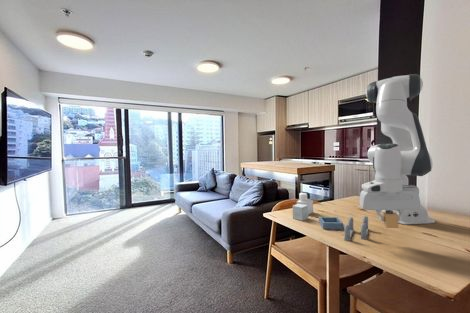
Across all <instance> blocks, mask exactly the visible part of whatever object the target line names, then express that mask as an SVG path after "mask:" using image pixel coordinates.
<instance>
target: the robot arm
mask: <svg viewBox="0 0 470 313" xmlns="http://www.w3.org/2000/svg"><path fill="white" fill-rule="evenodd" d="M423 86H424V82H423V79H422V77H421V76H420V75H419V73H418V74H417V73H413V74H412V73H409V74H407V75H397V76H392V77H389V78H388V77H387V78H384V79H381V80H377V81H376V80H375V81H372V82H369V84H368V85H367V87H366V90H365V96H366V99H367V101H368V102H369V103H373V104H376V105H375V113H376V118H377V119H378V121H379V122H380V132H381V133H382V134H383V135H384V136H386V137H389V138H390V139H391V141H392V142H389V143H380V144H375V145H371V146H370V147H369V148H368V150H367V159H368V160H369V162H371V163H372V168H373V170H375V174H374V179H373V180H372V181H368V182H365V183H362V184H361V189H362V190H361V192H360V194H359V207H360V208H361V209H363V211H375V213H376V214H377V216H378V220H379V221H380V222H382V221H385V217H384V216H383V215H381V213H382V211H386V210H392V211H393V212H394V213H396V214H398V224H401V225H424V224H436V222H435V219H433V218H432V217H430V216H429V213H428V211H427V208H426V207H425V206H423V205H421V198H420V188H419V187H418V186H416V185H415V184H409V177H408V176H416V177H423V176H425V175H428V174H429V173H430V172H431V171H432V169H433V159H432V156H431V154H430V153H429V151H428V148H427V142H426V140H425V139H426V138H425V136H424V135H425V134H424V133H423V128H422V126H421V123H420V120H419V116H418V115H417V114H416V113H415V112H413V111H411V110H410V109H409V108H408V101H407V99H409V101H411V102H412V99H414V98H416V97H418V96H419V94H421V92H422V90H423Z"/></svg>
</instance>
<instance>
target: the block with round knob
mask: <svg viewBox="0 0 470 313" xmlns="http://www.w3.org/2000/svg"><path fill="white" fill-rule="evenodd" d="M381 215H383V216H384V217H385V221H381V225H382V226H383V227H385V228H387V229H399V223H398V214H396V213H394V212H393V211H392V210H386V211H382V213H381Z"/></svg>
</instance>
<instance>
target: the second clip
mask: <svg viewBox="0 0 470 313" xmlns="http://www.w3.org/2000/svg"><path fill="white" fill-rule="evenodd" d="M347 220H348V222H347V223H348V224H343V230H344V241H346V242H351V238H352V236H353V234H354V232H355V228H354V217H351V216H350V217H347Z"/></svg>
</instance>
